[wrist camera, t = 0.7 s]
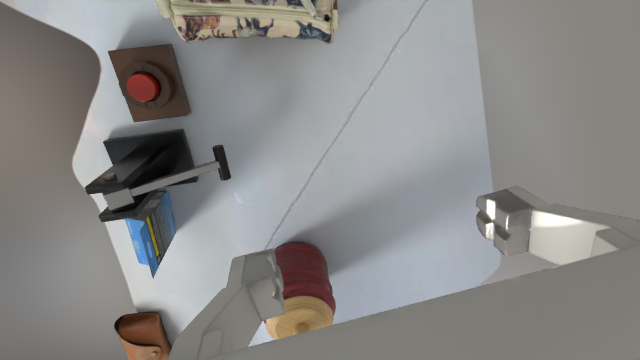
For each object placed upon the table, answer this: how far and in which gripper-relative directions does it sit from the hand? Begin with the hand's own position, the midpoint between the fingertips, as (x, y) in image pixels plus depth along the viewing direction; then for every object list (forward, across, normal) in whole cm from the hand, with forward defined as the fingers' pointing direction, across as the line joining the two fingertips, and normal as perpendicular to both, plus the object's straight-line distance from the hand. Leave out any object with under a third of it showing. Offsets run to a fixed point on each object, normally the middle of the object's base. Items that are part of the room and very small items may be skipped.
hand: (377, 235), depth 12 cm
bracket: (+42, +27, +6) cm, 50 cm away
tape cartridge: (+42, +30, +15) cm, 54 cm away
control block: (+41, +21, -6) cm, 47 cm away
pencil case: (+42, +4, -12) cm, 43 cm away
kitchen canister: (+42, +10, +34) cm, 55 cm away
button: (+38, +21, -6) cm, 44 cm away
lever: (+33, +21, +6) cm, 40 cm away
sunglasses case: (+42, +45, +45) cm, 76 cm away
